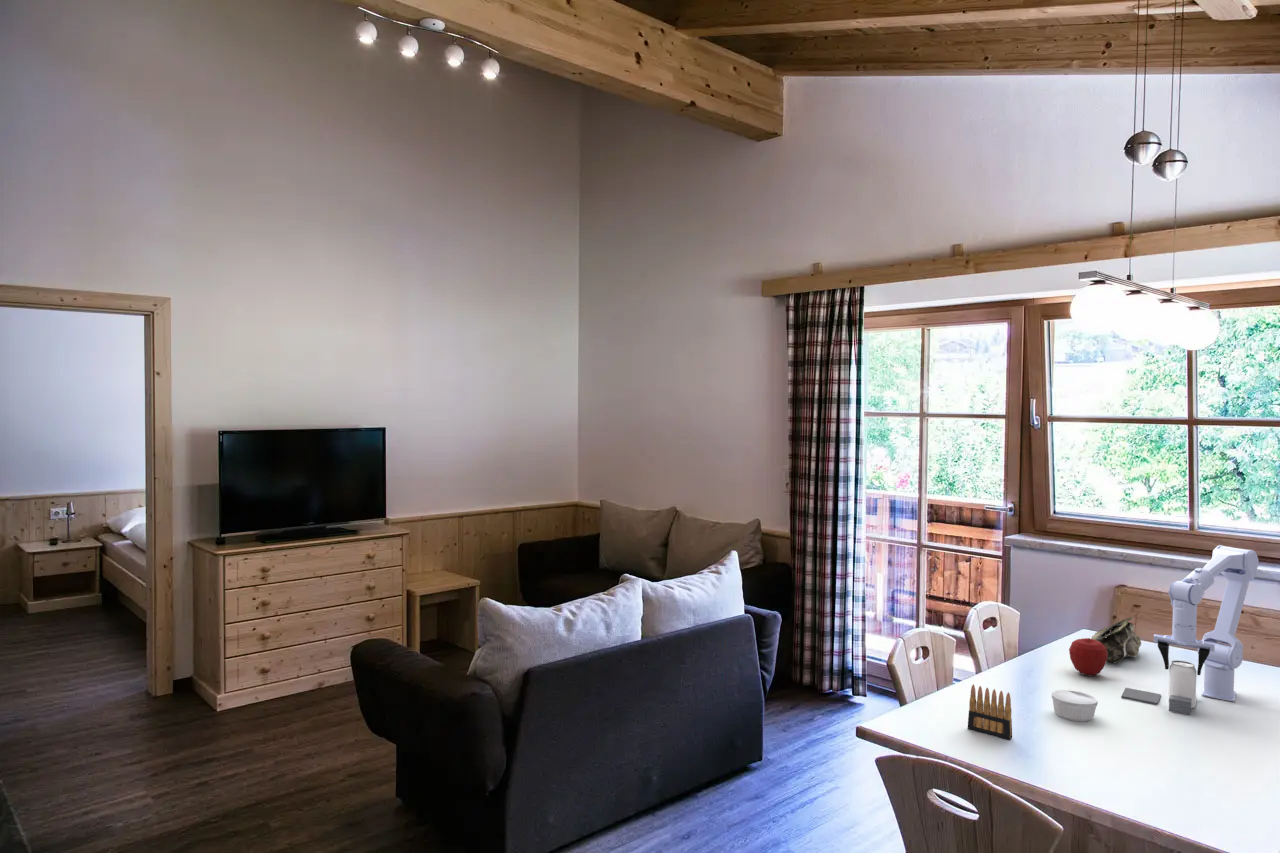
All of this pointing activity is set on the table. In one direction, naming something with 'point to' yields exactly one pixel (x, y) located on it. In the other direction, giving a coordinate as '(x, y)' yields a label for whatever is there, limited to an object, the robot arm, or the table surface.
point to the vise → (1180, 704)
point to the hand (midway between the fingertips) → (1182, 671)
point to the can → (1183, 680)
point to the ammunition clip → (990, 714)
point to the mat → (1141, 696)
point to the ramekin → (1074, 705)
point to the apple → (1088, 656)
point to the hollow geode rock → (1119, 640)
